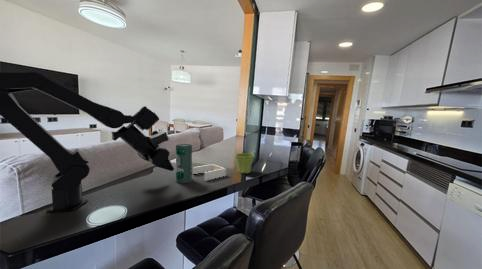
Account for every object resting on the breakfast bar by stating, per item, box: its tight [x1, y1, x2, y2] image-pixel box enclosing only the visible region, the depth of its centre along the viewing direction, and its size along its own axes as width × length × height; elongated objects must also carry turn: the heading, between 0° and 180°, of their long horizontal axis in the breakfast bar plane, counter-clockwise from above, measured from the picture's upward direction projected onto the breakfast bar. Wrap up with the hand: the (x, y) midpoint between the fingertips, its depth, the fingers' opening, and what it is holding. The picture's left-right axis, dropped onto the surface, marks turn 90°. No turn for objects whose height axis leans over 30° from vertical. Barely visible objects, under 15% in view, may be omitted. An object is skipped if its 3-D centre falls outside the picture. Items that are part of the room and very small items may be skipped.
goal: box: [192, 163, 227, 182], centre depth 85 cm, size 11×11×4 cm
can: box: [175, 143, 193, 184], centre depth 77 cm, size 6×6×15 cm
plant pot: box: [234, 152, 255, 174], centre depth 92 cm, size 9×9×9 cm
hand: (168, 167), depth 72 cm, fingers open, 9 cm apart
